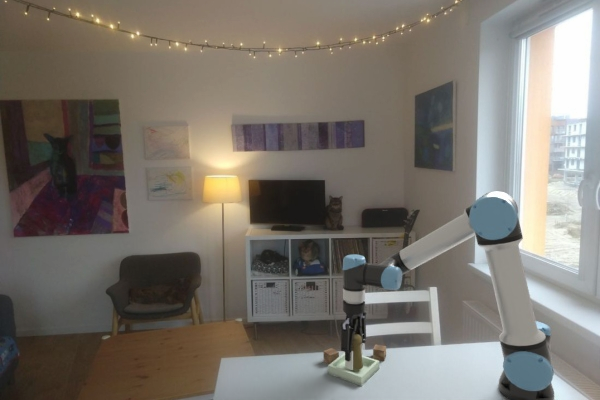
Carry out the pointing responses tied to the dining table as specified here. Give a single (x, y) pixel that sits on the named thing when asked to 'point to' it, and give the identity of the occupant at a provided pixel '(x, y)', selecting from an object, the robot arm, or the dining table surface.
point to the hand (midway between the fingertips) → (353, 364)
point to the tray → (353, 376)
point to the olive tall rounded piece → (357, 352)
